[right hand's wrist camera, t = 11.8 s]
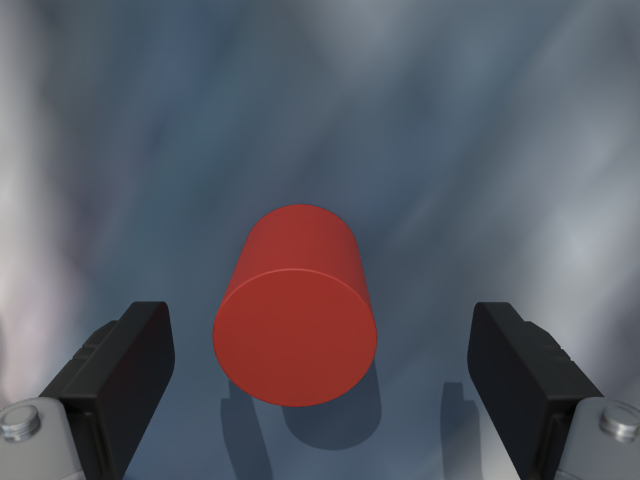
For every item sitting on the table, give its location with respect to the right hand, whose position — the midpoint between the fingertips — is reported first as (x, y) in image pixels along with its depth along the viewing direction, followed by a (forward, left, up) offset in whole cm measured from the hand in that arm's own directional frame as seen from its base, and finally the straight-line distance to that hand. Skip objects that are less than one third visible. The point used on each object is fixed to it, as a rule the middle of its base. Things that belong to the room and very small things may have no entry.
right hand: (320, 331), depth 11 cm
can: (+1, 0, -4) cm, 4 cm away
